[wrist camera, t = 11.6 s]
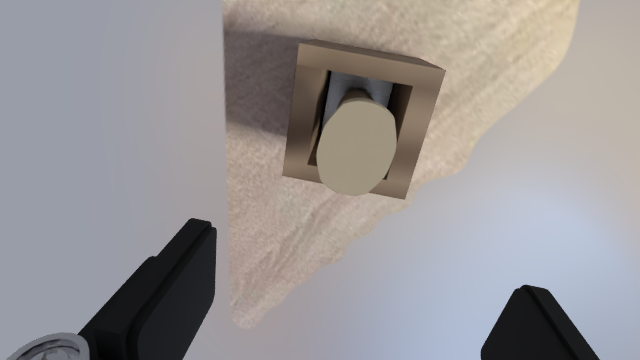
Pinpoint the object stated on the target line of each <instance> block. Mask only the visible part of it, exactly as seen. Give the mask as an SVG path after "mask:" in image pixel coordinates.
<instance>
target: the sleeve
mask: <svg viewBox="0 0 640 360" xmlns="http://www.w3.org/2000/svg"><path fill="white" fill-rule="evenodd" d="M329 71H335V72H341V73H346V74H352V75H357V76H362V77H368V78H373V79H378V80H384V81H389V82H395V85H394V89H393V93H392V97H391V101H390V104H389V108H388V110H389V111H390V113H391V114H392V115H393V117H394V119H395V127H396V138H397V144H396V151H395V154H394V157H393V160H392V162H391V165H390V167H389V170H388V171H387V173H386V175H385V176H384V178H383V179H382V180H381V181H380V182H379V183H378V184H377V185H376V186H375V187H374V188H373V189H371V190H370V191H369V192H368V193H373V194H378V195H383V196H389V197H394V198H399V199H404V200H405V197H406V194H407V191H408V188H409V185H410V182H411V179H412V175H413V172H414V169H415V166H416V163H417V160H418V157H419V153H420V150H421V147H422V144H423V141H424V138H425V135H426V131H427V128H428V125H429V122H430V119H431V116H432V113H433V109H434V106H435V103H436V100H437V97H438V94H439V91H440V87H441V84H442V81H443V78H444V75H445V72H446V70H444V69H442V68H440V67H438V66H436V65H433V64H431V63H429V62H427V61H425V60H422V59H418V58H413V57H407V56H402V55H396V54H391V53H385V52H380V51H375V50H369V49H364V48H358V47H353V46H347V45H342V44H337V43H331V42H326V41H320V40H311V41H306V42H302V43H299V47H298V55H297V63H296V71H295V79H294V87H293V95H292V103H291V111H290V119H289V127H288V134H287V142H286V150H285V158H284V166H283V174H282V176H286V177H291V178H296V179H301V180H307V181H312V182H317V183H322V181H321V180H320V175H319V171H318V165H317V156H316V155H317V149H318V145H319V141H320V138H321V134H322V132H319V130H320V124H321V118H322V112H323V106H324V100H325V94H326V88H327V82H328V77H329ZM322 184H323V183H322Z"/></svg>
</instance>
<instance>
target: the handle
mask: <svg viewBox="0 0 640 360" xmlns="http://www.w3.org/2000/svg"><path fill="white" fill-rule="evenodd" d="M396 144H397V138H396V127H395V119H394V117H393V115H392V114H391V113H390V111H389V110H388V109H387V108H386V107H384V106H383V105H381V104H379V103H377V102H375V101H374V100H373V98H372V97H371V96H370V95H369V93H367V92H364V91H361V90H357V89H352V90H351V91H350V92H348V93H347V94H345V95H344V96H343V97H342V99H341V100H340V102H339V104H338V106H337V108H336V110H335V111H334V113H333V114H332V115H331V116H330V117H329V119H328V120H327V121H326V123H325V125H324V127H323V131H322V134H321V138H320V141H319V145H318V149H317V155H316V156H317V165H318V171H319V175H320V180H321V181H322V183H323V184H324V185H326V186H327V187H328V188H329V189H331V190H333V191H335V192H338V193H341V194H345V195H351V196H358V195H364V194H367V193H368V192H369V191H370V190H371V189H373V188H374V187H375V186H376V185H377V184H378V183H379V182H380V181H381V180H382V179H383V178H384V176H385V175H386V173H387V171H388V170H389V167H390V165H391V162H392V160H393V157H394V154H395V151H396Z"/></svg>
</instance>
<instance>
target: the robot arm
mask: <svg viewBox="0 0 640 360" xmlns="http://www.w3.org/2000/svg"><path fill="white" fill-rule="evenodd" d="M216 238H217V231H216V228H214V227H212V225H211V222H209V221H204V220H199V219H194V218H191V219H189V220H188V221H187V223H186V224H185V225H184V226H183V227H182V228H181V229H180V230H179V232H178V233H177V234H176V235H175V236H174V237H173V238H172V240H171V241H170V242H169V243H168V244H167V245H166V246H165V247H164V249H163V250H162V251H161V252H160V253H159V254H158V255H157V256H156V257H154V256H152V257H149V258H148V259H147V260H145V261H144V263H142V265H141V266H140V267H139V268H138V269H137V270H136V271H135V272H134V273H133V274H132V275H131V277H130V278H129V279H128V280H127V281H126V282H125V283H124V284H123V285H122V286H121V288H120V289H119V290H118V291H117V292H116V293H115V294H114V295H113V296H112V297H111V298H110V299H109V301H108V302H107V303H106V304H105V305H104V306H103V307H102V308H101V309H100V310H99V311H98V313H97V314H96V315H95V316H94V317H93V318H92V319H91V320H90V321H89V322H88V323H87V324H86V325H85V327H84V328H83V329H82V330H81V331H80V332H79V333H78V334H77V335H76V334H74V333H56V334H51V335H46V336H44V337H41V338H39V339H36V340H34V341H32V342H30V343H28V344H26V345H25V346H23V347H21V348H20V349H18V350H17V351H16V352H15V353H13V354H12V355H11V356H10V357H9V358H8V359H7V360H182V359H183V358H184V356H185V354H186V352H187V350H188V348H189V346H190V344H191V342H192V341H193V339H194V337H195V335H196V333H197V331H198V329H199V327H200V326H201V324H202V322H203V320H204V318H205V316H206V314H207V312H208V310H209V309H210V307H211V305H212V302H213V299H214V295H215V268H216ZM481 360H600V359H599V358H598V357H597V355H596V354H595V352H594V351H593V350H592V348H591V347H590V346H589V344H588V343H587V342H586V340H585V339H584V338H583V336H582V335H581V333H580V332H579V331H578V329H577V328H576V327H575V325H574V324H573V323H572V321H571V320H570V319H569V317H568V316H567V314H566V313H565V312H564V310H563V309H562V308H561V306H560V305H559V304H558V302H557V301H556V300H555V298H554V297H553V295H552V294H551V293H550V292H549V291H548V290H547V289H544V288H540V287H535V286H530V285H523V286H521V287H520V289H519V288H518V289H515V291H514V292H513V294H512V295H511V297H510V299H509V301H508V302H507V304H506V306H505V308H504V310H503V311H502V313H501V315H500V317H499V318H498V320H497V322H496V324H495V325H494V327H493V329H492V331H491V333H490V334H489V336H488V338H487V340H486V341H485V343H484V345H483V347H482V349H481Z"/></svg>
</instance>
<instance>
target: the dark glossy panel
mask: <svg viewBox="0 0 640 360" xmlns="http://www.w3.org/2000/svg"><path fill="white" fill-rule="evenodd" d="M392 86H393V82H389V81H384V80H378V79H373V78H368V77H362V76H357V75H352V74H346V73H341V72H335V71H332V73H331V79H330V85H329V91H328V96H327V102H326V108H325V114H324V120H323V125H322V131H323V127H324V125H325V123H326V121H327V120H328V119H329V117H330V116H331V115H332V114H333V113H334V111H335V110H336V108H337V106H338V104H339V102H340V100H341V99H342V97H343V96H344V95H345V94H347V93H348V92H350V91H351V90H352V89H357V90H361V91H364V92H367V93H369V95H370V96H371V97H372V98H373V100H374V101H375V102H377V103H379V104H381V105H383V106H384V107H386V108H387V106H388V102H389V98H390V94H391V90H392ZM322 131H321V132H322Z"/></svg>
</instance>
